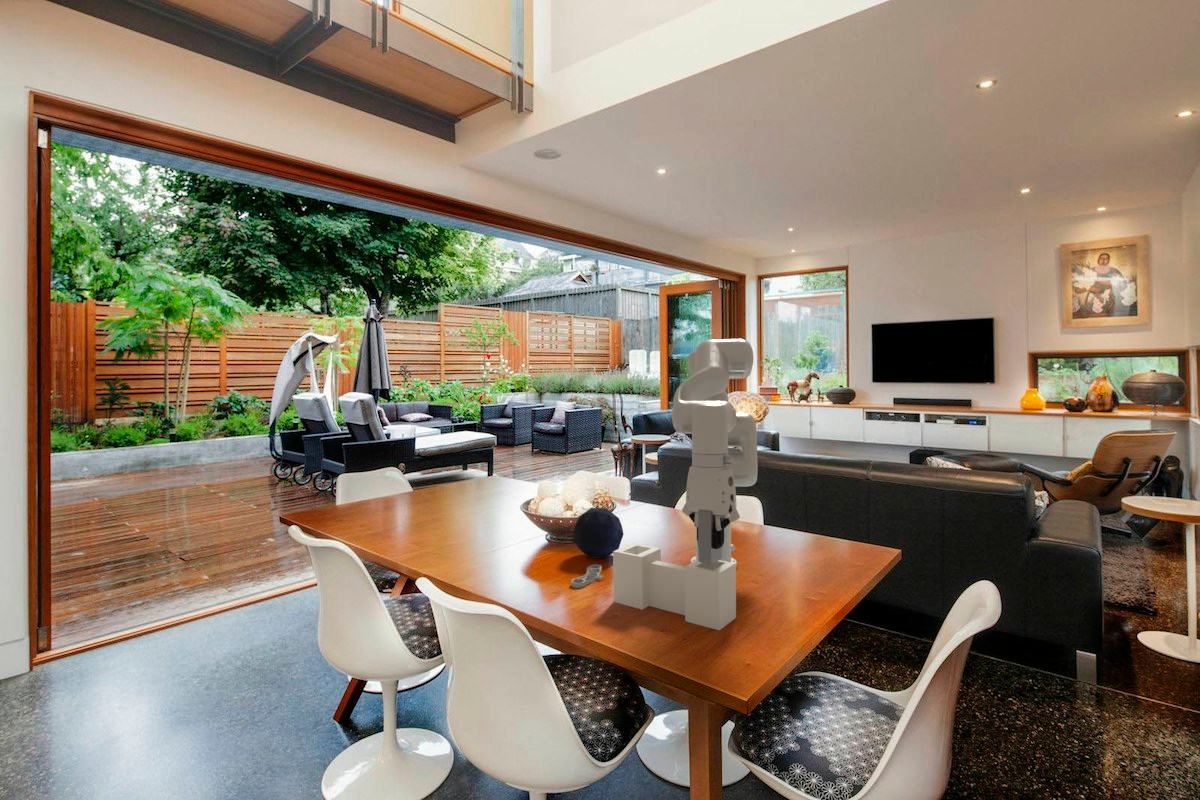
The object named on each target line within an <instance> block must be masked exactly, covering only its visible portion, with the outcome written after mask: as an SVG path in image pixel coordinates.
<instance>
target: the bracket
mask: <svg viewBox="0 0 1200 800" xmlns="http://www.w3.org/2000/svg"><path fill="white" fill-rule="evenodd" d="M602 568H603V567H602V565H601V564H591V565H589V566H587V567H586V573H585V574H584V575H582V576H579V577H575V578H572V579H571V580H570V581H571V585H570V586H571V588H573V589H581V588H584V587H585V586H587V585H589V584H592V583H594V582H595V581H602V579H603V575H601V573H602V571H603V569H602Z"/></svg>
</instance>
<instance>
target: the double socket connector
mask: <svg viewBox="0 0 1200 800" xmlns="http://www.w3.org/2000/svg"><path fill="white" fill-rule="evenodd" d="M612 557H613V559H612V561H613V562H612V564H613V565H612V567H613V603H616V604H620V605H623V606H628V607H631V608H635V609H638V610H641V611H643V610H644V609H647V608H648V607H652V608H655V609H660V610H662V611H663V610H664V611H667V612H671V613H675V614H678V615H682V616H684V617H685V618H684V619H685V622H687V623H690V624H693V625H698V626H702V627H705V628H710V629H713V630H717V631H721V630H722V629H724V628H725V627H726V626H727V625H729V624H730V623H731V622H732V621H734V620H735V619H736V618H737V566H736V563H732V562H727V561H722V560H718V561H716V562H715V563H713V564H707V563H702V562H699V559H698V560H696V561H694V562H692V563H691V562H690V563H688V564H686V565H680V564H675V563H670V562H667V561H666V562H665V561H662V549H661V548H659V547H653V546H648V545H643V544H637V543H630V544H627V545H625V546H622V547H619V549H618V550H615V551H613V553H612Z"/></svg>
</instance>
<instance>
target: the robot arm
mask: <svg viewBox="0 0 1200 800" xmlns="http://www.w3.org/2000/svg"><path fill="white" fill-rule="evenodd" d="M753 365H754V350H753V347H752V345H751V344H750V342H749V341H748V340H746V339H743V338H729V339H728V338H723V339H707V340H705V341H704V340H703V341H702V342H701V343H700V344H699V345H698V346H697V348H696V350H693V351H691V352H690V353H689V354H688V356H687V367H688V368H687V369H688V372H689V377H688V378H687V379H685V380H684V381H683V382H682V383H681V384H680V385H679V386H678V387H677V389H676V390H675V393H674V396H673V403H672V411H671V422H672V426H673V428H674V430H675V431H676V432H678V433H680V434H683V435H685V434H687V435H689V434H690V435H691V456H692V457H691V461H692V462H691V466H690V467H689V469H688V474H687V478H686V479H687V480H686V489H685V504H684V505H683V507H682V509H681V511H682V513H683V514H685V515H686V516H687V517H689V518H690V520H691V521H692V522H693V525H694V527H695V556H692V558H690V563H692V562H694V561H696V560H698V559H699V557H698V511H699V510H701V511H708V512H712V515H714V516H715V526H716V530H714V549H718V548H720V547H722V559H720V560H722V561H727V562H732V563H736V567H737V566H738V564H737V563H738V562H737V560H736V559H735V558H733V557H732V552H735V549H736V546H735V544H732V523H733V522H735V521H737V520H739V519H741V516H740V513H739V511H738V510H737V492H736V491H737V490H736V487H740V488H741V487H742V488H743V487H752V486H755V484H756V483H757V480H758V467H759V465H758V437H757V436H758V435H757V433H758V432H757V424H756V421H755V418H754V417H753V415H751V413H748V412H747V413H746V412H737V410H736V408H734V407H735V406H733V404H732V403H731V402H729V395H728V393H727V392H726V390H727V388H728V386H729V385H730V384H729V383H730V380H740V379H746V378H748V377H749V376H750V375H751V373H752V371H753V370H752V369H753ZM730 447H731V448H738V449H739V450H740V451H732V450H731V451H729V449H728V448H730Z"/></svg>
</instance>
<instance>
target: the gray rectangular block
mask: <svg viewBox="0 0 1200 800" xmlns="http://www.w3.org/2000/svg"><path fill="white" fill-rule="evenodd" d="M714 530H716V526H715V516H714V515H712V512H708V511H701V510H699V511H698V557H699V562H702V563H707V564H713V563H715V562H716V561H718V560H720V559H722V547H720V548H718V549H714Z"/></svg>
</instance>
